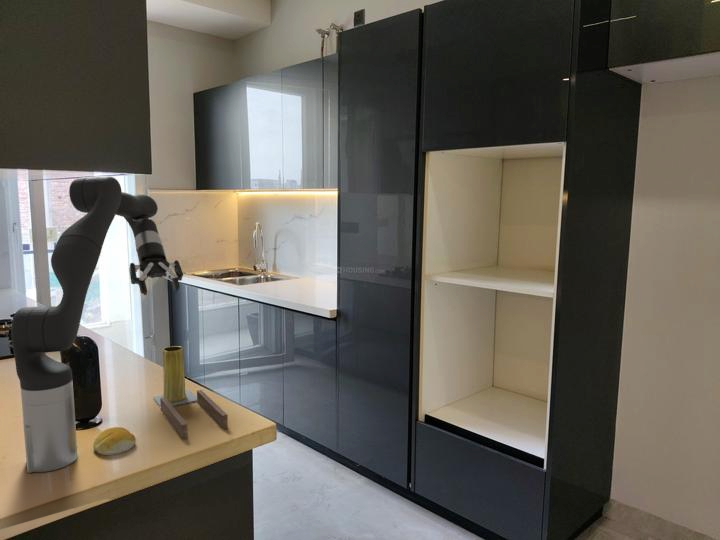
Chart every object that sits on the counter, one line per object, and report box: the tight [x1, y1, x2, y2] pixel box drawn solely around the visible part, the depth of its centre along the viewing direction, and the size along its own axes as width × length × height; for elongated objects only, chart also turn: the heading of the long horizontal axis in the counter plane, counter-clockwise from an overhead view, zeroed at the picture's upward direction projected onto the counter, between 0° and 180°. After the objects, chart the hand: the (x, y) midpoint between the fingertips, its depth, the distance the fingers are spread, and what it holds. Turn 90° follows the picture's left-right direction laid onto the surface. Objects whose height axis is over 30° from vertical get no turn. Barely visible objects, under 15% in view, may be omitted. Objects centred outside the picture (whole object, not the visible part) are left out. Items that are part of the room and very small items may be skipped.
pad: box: [152, 389, 197, 408], centre depth 143 cm, size 10×9×1 cm
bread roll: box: [93, 426, 137, 456], centre depth 116 cm, size 8×9×4 cm
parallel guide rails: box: [160, 389, 229, 440], centre depth 131 cm, size 11×20×4 cm, turn 35°
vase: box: [162, 345, 186, 402], centre depth 142 cm, size 6×6×14 cm
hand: (161, 292), depth 149 cm, fingers open, 8 cm apart
